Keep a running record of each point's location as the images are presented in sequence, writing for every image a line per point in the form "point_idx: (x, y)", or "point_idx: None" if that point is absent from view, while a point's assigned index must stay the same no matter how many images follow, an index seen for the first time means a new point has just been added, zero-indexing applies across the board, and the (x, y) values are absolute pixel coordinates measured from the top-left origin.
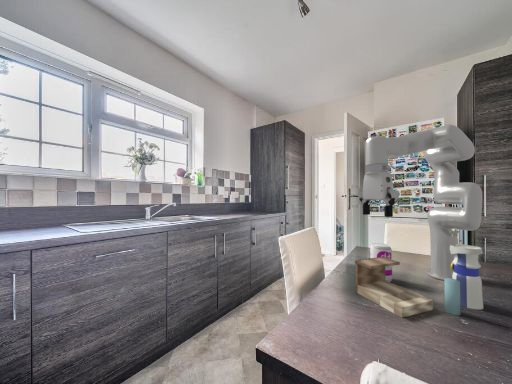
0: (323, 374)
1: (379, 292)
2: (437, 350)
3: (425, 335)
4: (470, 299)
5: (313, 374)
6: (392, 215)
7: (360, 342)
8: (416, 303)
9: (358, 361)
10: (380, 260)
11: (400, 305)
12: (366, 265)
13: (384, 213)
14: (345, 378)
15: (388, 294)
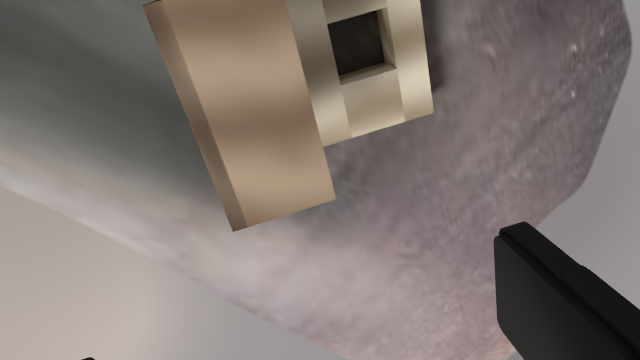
0: None
1: (319, 119)
2: (542, 117)
3: (498, 100)
4: None
5: None
6: (533, 231)
7: (477, 259)
8: (420, 34)
9: None
10: (239, 85)
11: (421, 106)
12: (309, 204)
13: (523, 356)
14: None
15: (340, 93)
